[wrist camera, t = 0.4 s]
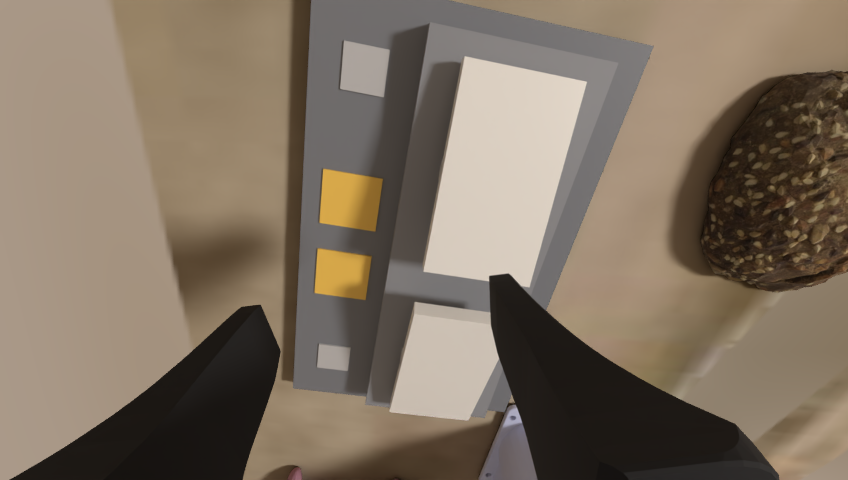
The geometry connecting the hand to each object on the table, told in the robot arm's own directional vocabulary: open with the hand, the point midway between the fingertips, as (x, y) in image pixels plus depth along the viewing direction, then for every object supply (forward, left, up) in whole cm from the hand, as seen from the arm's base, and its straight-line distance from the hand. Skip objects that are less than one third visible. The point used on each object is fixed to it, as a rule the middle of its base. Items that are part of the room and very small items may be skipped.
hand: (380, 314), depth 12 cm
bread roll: (+5, -23, -11) cm, 26 cm away
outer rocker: (+3, -4, -7) cm, 8 cm away
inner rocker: (-8, -4, -7) cm, 11 cm away
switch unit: (-2, -3, -10) cm, 11 cm away
